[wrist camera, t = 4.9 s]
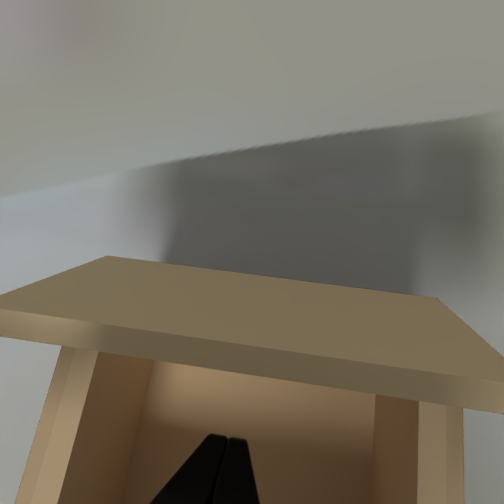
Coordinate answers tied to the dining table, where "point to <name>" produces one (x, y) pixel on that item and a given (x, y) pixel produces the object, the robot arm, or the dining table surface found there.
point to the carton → (234, 425)
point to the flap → (262, 329)
